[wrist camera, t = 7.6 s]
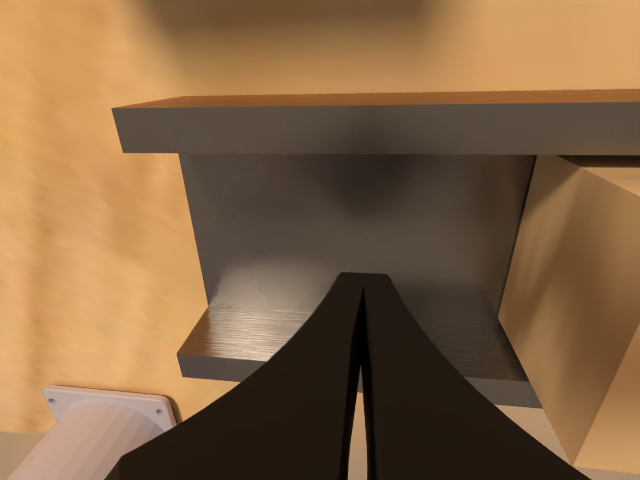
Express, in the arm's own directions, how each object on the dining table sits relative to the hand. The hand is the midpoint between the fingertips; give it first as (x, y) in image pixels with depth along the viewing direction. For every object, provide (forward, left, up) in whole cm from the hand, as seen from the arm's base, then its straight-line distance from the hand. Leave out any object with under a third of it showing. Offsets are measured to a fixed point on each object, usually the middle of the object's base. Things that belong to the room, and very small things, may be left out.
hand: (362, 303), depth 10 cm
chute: (0, -3, -5) cm, 6 cm away
